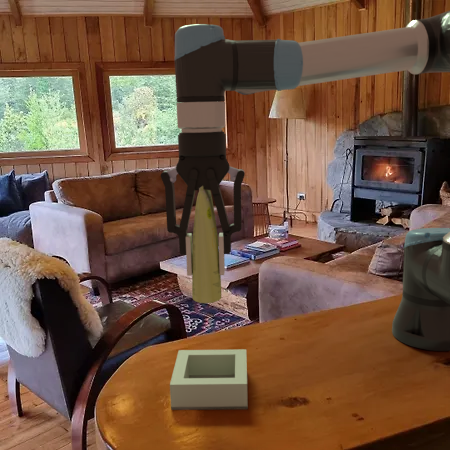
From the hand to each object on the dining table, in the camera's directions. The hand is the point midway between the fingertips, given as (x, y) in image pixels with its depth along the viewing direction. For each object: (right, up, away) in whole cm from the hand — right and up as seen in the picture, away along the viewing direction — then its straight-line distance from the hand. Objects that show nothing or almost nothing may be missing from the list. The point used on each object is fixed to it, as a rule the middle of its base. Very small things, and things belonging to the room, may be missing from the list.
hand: (206, 272), depth 87 cm
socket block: (+1, -21, +5) cm, 21 cm away
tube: (0, -5, +1) cm, 5 cm away
